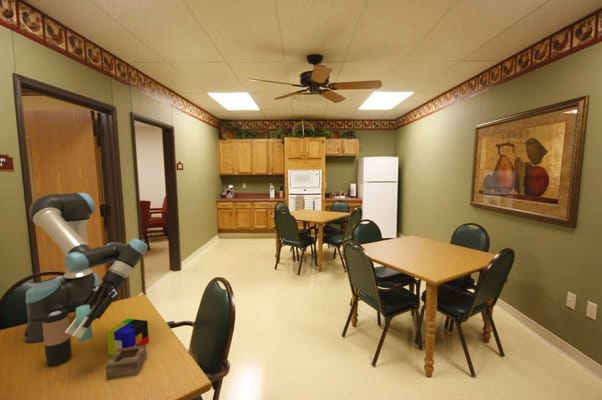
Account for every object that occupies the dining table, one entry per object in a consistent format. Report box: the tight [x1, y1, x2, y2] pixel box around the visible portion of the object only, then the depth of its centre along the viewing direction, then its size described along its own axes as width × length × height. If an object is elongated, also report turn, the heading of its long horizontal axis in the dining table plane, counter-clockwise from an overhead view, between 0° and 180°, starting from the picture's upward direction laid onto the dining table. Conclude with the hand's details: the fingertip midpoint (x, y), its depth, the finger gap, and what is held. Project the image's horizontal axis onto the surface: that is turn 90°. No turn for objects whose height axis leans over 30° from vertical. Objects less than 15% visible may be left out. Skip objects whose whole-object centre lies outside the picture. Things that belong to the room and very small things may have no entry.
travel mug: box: [42, 307, 72, 368], centre depth 104 cm, size 8×8×20 cm
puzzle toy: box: [106, 318, 150, 356], centre depth 112 cm, size 10×10×10 cm
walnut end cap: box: [104, 344, 148, 380], centre depth 101 cm, size 10×10×5 cm
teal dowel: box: [75, 305, 93, 343], centre depth 98 cm, size 4×4×12 cm
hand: (72, 335), depth 95 cm, fingers closed on teal dowel, 4 cm apart
